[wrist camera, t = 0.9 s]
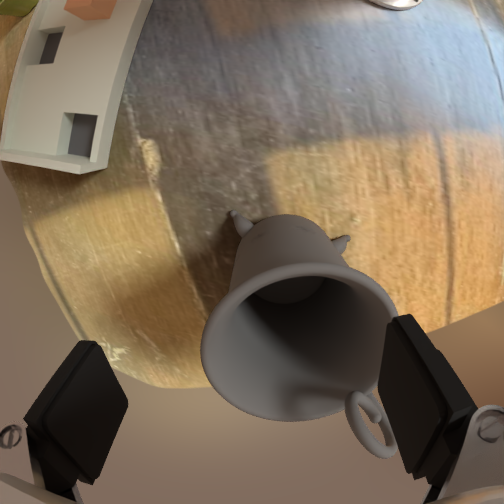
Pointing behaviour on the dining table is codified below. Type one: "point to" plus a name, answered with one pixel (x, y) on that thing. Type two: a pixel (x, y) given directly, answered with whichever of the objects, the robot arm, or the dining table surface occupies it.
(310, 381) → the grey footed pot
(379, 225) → the dining table surface
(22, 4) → the plant pot
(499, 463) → the robot arm
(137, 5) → the tray
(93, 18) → the block
